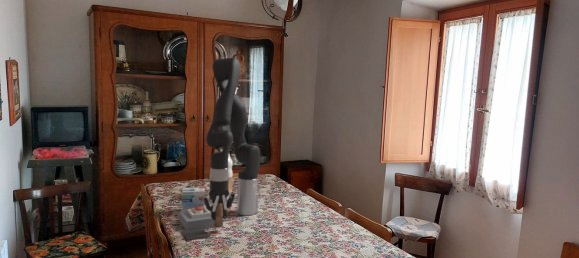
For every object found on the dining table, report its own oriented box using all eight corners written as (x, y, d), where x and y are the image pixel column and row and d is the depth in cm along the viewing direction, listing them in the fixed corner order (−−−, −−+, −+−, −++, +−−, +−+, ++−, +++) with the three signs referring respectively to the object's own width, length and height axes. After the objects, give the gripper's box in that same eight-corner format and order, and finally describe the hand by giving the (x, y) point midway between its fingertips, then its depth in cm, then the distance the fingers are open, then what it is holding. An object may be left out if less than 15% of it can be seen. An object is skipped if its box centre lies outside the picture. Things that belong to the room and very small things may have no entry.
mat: (202, 229, 159) (202, 228, 159) (209, 236, 152) (209, 235, 152) (181, 232, 155) (181, 231, 155) (187, 240, 147) (187, 239, 147)
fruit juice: (219, 201, 198) (221, 148, 195) (211, 196, 206) (212, 145, 203) (235, 198, 204) (236, 147, 201) (226, 194, 212) (227, 144, 208)
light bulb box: (181, 214, 176) (181, 191, 175) (181, 209, 183) (181, 187, 181) (204, 213, 179) (205, 191, 178) (204, 208, 185) (204, 187, 184)
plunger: (201, 215, 168) (201, 205, 168) (204, 218, 165) (204, 208, 165) (193, 216, 166) (193, 206, 166) (195, 219, 163) (196, 209, 163)
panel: (209, 216, 176) (209, 204, 175) (219, 226, 163) (219, 213, 163) (178, 220, 168) (178, 208, 168) (186, 231, 156) (187, 218, 156)
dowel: (221, 223, 160) (221, 200, 159) (224, 226, 157) (224, 203, 156) (212, 225, 158) (213, 202, 157) (216, 228, 155) (216, 204, 154)
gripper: (231, 174, 162) (231, 213, 164) (199, 177, 155) (199, 218, 157) (238, 178, 156) (238, 218, 158) (205, 182, 148) (205, 224, 150)
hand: (218, 218), depth 157 cm, fingers closed on dowel, 3 cm apart
